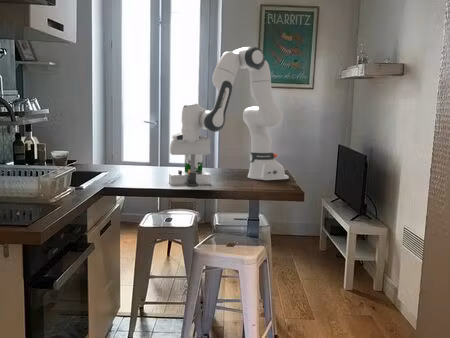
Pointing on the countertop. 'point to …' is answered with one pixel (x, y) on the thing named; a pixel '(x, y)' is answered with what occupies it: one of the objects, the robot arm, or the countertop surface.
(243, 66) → the robot arm
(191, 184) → the grey stepped post
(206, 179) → the breaker box
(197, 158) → the soya milk
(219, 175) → the countertop surface
